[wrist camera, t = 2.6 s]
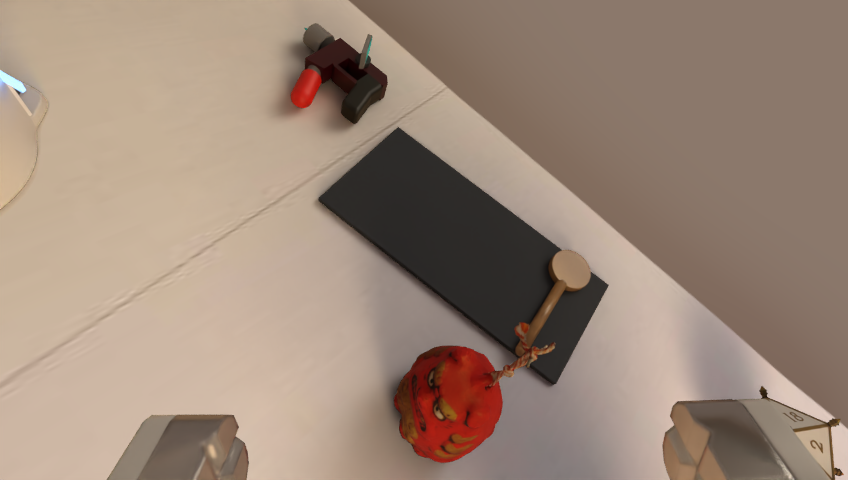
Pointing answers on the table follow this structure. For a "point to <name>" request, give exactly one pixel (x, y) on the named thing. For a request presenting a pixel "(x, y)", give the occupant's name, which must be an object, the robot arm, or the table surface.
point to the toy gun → (339, 73)
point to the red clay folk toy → (454, 398)
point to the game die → (810, 434)
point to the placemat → (462, 246)
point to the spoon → (558, 289)
